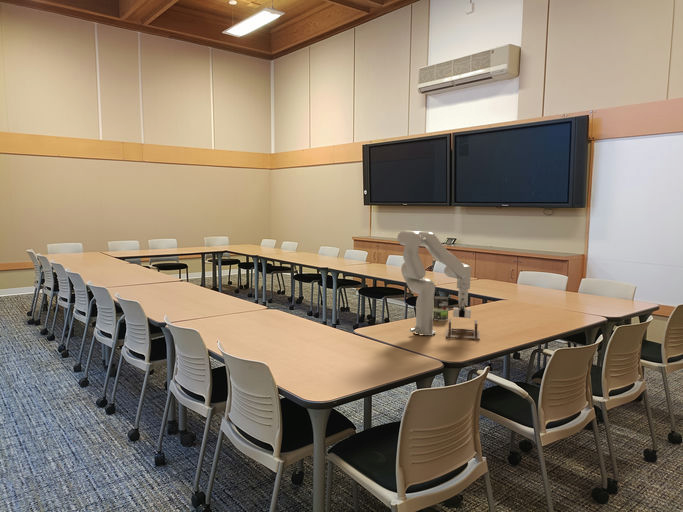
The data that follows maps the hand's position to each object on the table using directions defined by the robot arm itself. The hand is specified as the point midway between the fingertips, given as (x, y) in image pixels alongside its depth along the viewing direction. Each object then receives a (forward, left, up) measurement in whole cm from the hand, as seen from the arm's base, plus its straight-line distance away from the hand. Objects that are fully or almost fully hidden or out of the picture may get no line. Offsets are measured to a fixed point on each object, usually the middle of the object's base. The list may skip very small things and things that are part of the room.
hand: (461, 315), depth 282 cm
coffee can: (+6, +23, -8) cm, 25 cm away
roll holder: (-12, -11, -7) cm, 18 cm away
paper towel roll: (0, 0, +2) cm, 2 cm away
